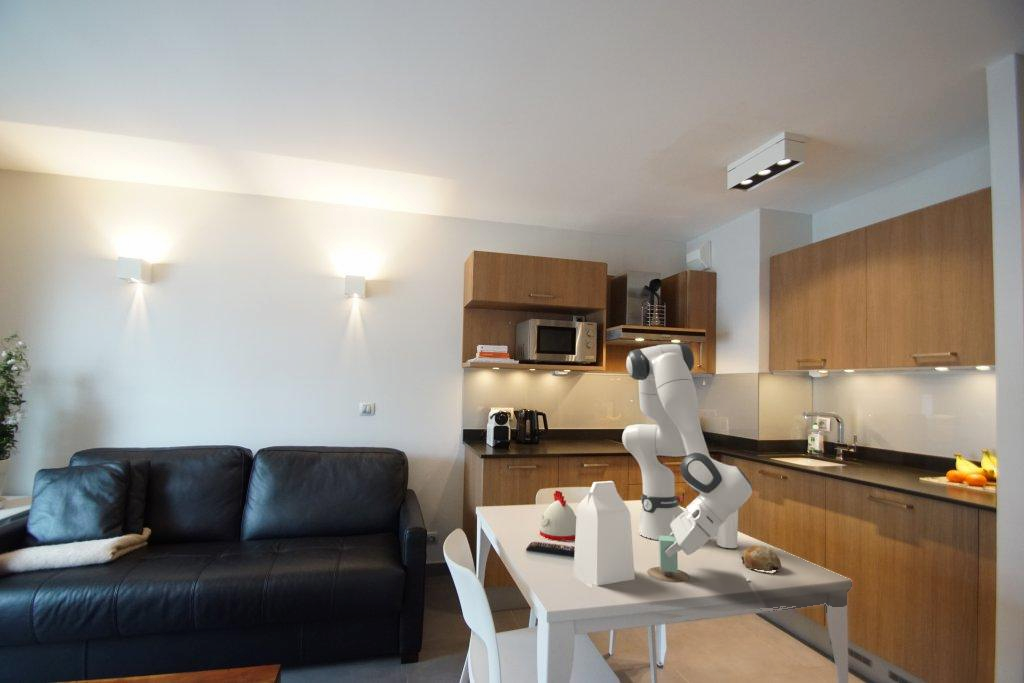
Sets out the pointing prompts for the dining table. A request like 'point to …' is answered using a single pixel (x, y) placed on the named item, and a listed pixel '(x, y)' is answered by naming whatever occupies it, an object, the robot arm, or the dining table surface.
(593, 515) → the milk
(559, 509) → the kitchen timer
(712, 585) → the dining table surface
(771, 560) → the bread roll
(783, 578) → the dining table surface
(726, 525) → the cup
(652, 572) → the post stand
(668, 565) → the mint rectangular pillar
